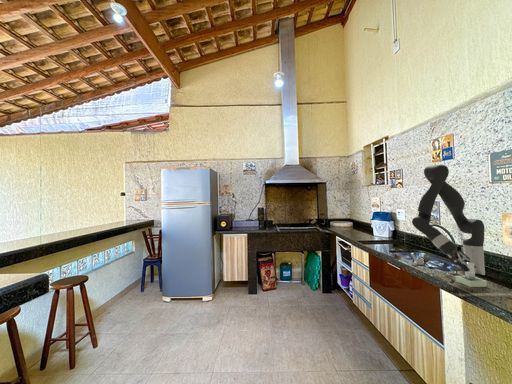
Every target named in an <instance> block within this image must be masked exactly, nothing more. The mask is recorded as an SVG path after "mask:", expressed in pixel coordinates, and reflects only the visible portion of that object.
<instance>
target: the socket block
mask: <svg viewBox="0 0 512 384" xmlns="http://www.w3.org/2000/svg"><path fill="white" fill-rule="evenodd" d="M455 276H465V274H462V273H459V272H444V277H445V278H448V279H449V280H453V281H454V282H456V279H455Z"/></svg>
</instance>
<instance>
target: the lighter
mask: <svg viewBox="0 0 512 384" xmlns="http://www.w3.org/2000/svg"><path fill="white" fill-rule="evenodd" d="M410 255H411V257H412V259H413V260H415V265H419V266H424V258H423V257H421V256H417V257H416V255H415V253H414V252H410Z"/></svg>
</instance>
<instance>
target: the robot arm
mask: <svg viewBox="0 0 512 384" xmlns="http://www.w3.org/2000/svg"><path fill="white" fill-rule="evenodd" d="M423 174H424V177H425V179H427V181H428V183H430V186H429V188H428V189H427V190H426V192H424V194H423V195H422V196H421V198H420V201H419V204H418V206H417V212H418V215H417V216H415V217H413V218H412V221H411V222H412V223H411V224H412V226H413V227H414V228H415V229H417V231H419V232H421V234H422V235H425V237H426V238H428V239H429V241H431V243H432V244H433V245H434V246H435V247H436V248H437V249H438V250H439V251H440V252H441V253H442V254H443V255H445V256H446V257H447V258H448V259H449V260H450V262H452V263H453V264H454V265H455V266H458V267H460V268H461V269H462V270H463V271H464V273H465V272H467V271H469V270H470V269H469V268H468V267H467V266H466V265H465V264H464V262H471V263H474V269H475V275H476V274H477V275H482V276H485V275H486V270H485V269H486V268H485V252H484V251H485V250H484V248H485V247H484V243H485V224H484V221H482V220H481V219H475V218H474V219H473V218H467V217H466V215H465V214H464V209H465V204H466V203H465V200H464V198H463V196H462V195H461V193H460V192H459V191H458V189H456V188H455V187H453V186H452V185H450V184H449V183H448V182H447V181H446V180H447V179H448V176H449V174H450V170H449V168H448V166H447V165H444V164H428V165H427V166H425V168H424V170H423ZM438 196H439V197H440V198H441V201H442V202H443V203H444V205H445V206H446V208H447V209H448V211H449V212H450V214H451V216H452V218H453V219H454V222H455V223H456V226H457V227H458V229H459V231H460V232H462V233H463V234H467V235H469V234H470V235H471V236H470V238H466V239H463V240H462V247H463V248H462V249H463V251H462V250H457V249H458V246H457V244H455V243H454V242H452V240H450V239H449V237H447V236H446V235H444V234H443V233H442V232H441V231H440V230H438V228H436V227H434V226H432V225H431V224H430V222H431V217H432V213H433V208H434V205H435V202H436V200H437V197H438Z"/></svg>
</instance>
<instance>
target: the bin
mask: <svg viewBox="0 0 512 384" xmlns="http://www.w3.org/2000/svg"><path fill="white" fill-rule="evenodd" d="M455 279H456V281H455V282H457V283H459V284H461V285H464V286H465V287H468V288H482V287H483V288H486V287H488V281H487V280H484V279H482V278H479V277H476V276H475V280H476V281H469V280H467V279H465V276H455Z"/></svg>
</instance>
